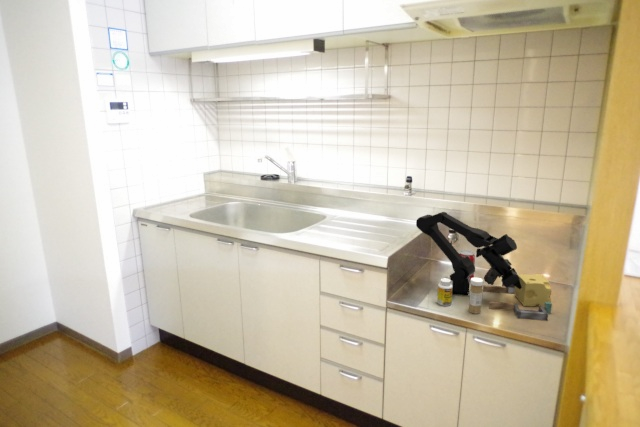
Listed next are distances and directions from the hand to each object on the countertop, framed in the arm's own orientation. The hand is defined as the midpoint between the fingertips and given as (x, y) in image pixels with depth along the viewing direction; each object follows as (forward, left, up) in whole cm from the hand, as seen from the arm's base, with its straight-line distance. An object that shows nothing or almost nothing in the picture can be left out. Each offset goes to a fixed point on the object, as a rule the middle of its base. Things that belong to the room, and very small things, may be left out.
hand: (520, 288), depth 169 cm
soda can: (-18, +21, -7) cm, 29 cm away
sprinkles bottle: (-18, -11, -7) cm, 22 cm away
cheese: (+5, +2, -7) cm, 9 cm away
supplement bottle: (-29, -6, -7) cm, 31 cm away
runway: (-1, +1, -6) cm, 7 cm away
